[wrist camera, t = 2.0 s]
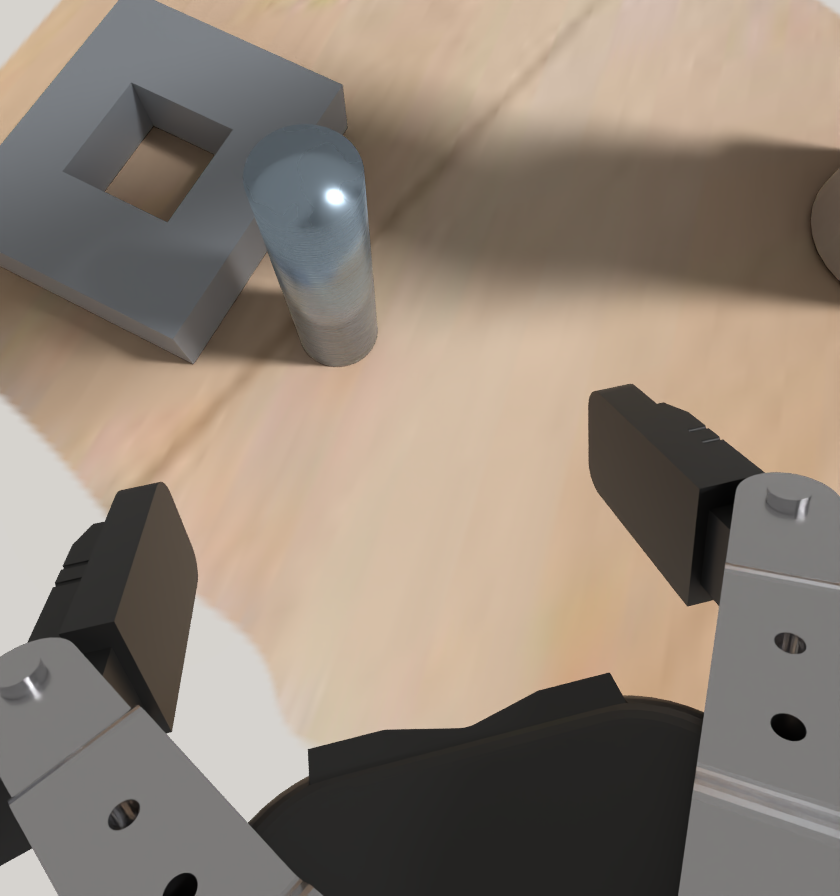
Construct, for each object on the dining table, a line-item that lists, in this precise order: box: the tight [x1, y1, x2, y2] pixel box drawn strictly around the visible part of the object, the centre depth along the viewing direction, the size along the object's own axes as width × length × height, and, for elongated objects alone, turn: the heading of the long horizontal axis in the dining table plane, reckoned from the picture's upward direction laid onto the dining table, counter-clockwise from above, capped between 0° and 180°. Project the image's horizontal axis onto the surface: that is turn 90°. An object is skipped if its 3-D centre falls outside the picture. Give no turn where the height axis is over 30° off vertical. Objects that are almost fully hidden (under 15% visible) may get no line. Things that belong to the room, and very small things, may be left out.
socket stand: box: [0, 0, 347, 364], centre depth 33 cm, size 16×13×3 cm
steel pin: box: [243, 124, 378, 367], centre depth 27 cm, size 4×4×12 cm
